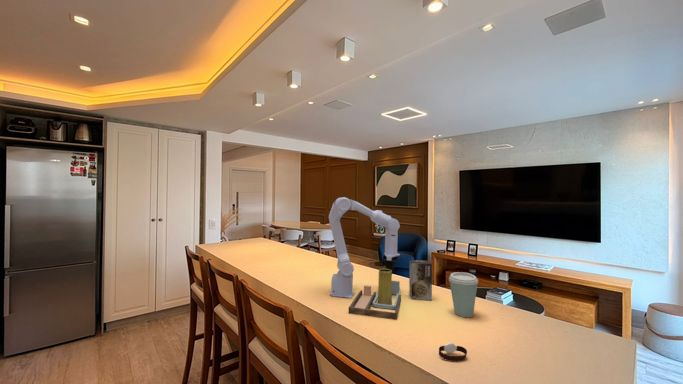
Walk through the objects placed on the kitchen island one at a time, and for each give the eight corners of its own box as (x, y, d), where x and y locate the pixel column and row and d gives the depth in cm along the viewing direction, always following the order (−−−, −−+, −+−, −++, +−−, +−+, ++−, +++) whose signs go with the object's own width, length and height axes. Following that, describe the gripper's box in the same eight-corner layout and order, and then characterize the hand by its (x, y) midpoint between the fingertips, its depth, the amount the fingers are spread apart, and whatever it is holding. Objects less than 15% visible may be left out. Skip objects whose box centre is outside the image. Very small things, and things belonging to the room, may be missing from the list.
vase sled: (371, 306, 114) (372, 292, 114) (379, 291, 133) (379, 279, 133) (395, 309, 111) (395, 294, 112) (399, 293, 131) (399, 281, 131)
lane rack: (348, 313, 107) (348, 307, 107) (360, 295, 128) (360, 290, 128) (396, 319, 102) (396, 313, 102) (401, 299, 123) (401, 294, 124)
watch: (462, 353, 81) (462, 340, 81) (470, 362, 76) (470, 348, 76) (435, 353, 81) (436, 340, 81) (442, 362, 76) (442, 348, 76)
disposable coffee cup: (481, 321, 103) (482, 279, 103) (450, 318, 105) (451, 277, 106) (474, 310, 113) (474, 272, 114) (446, 307, 116) (446, 270, 116)
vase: (375, 306, 115) (375, 270, 116) (379, 301, 121) (380, 267, 121) (389, 309, 113) (390, 272, 113) (393, 304, 118) (394, 269, 119)
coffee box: (428, 295, 130) (429, 260, 130) (432, 300, 123) (432, 263, 124) (408, 294, 131) (409, 259, 131) (410, 299, 124) (411, 262, 125)
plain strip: (352, 311, 108) (352, 299, 108) (362, 295, 127) (362, 284, 127) (364, 313, 107) (364, 300, 107) (372, 296, 126) (373, 285, 126)
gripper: (398, 246, 124) (397, 278, 124) (401, 242, 138) (400, 270, 138) (382, 245, 126) (381, 276, 126) (386, 241, 140) (385, 269, 140)
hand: (390, 273), depth 132 cm, fingers open, 7 cm apart
